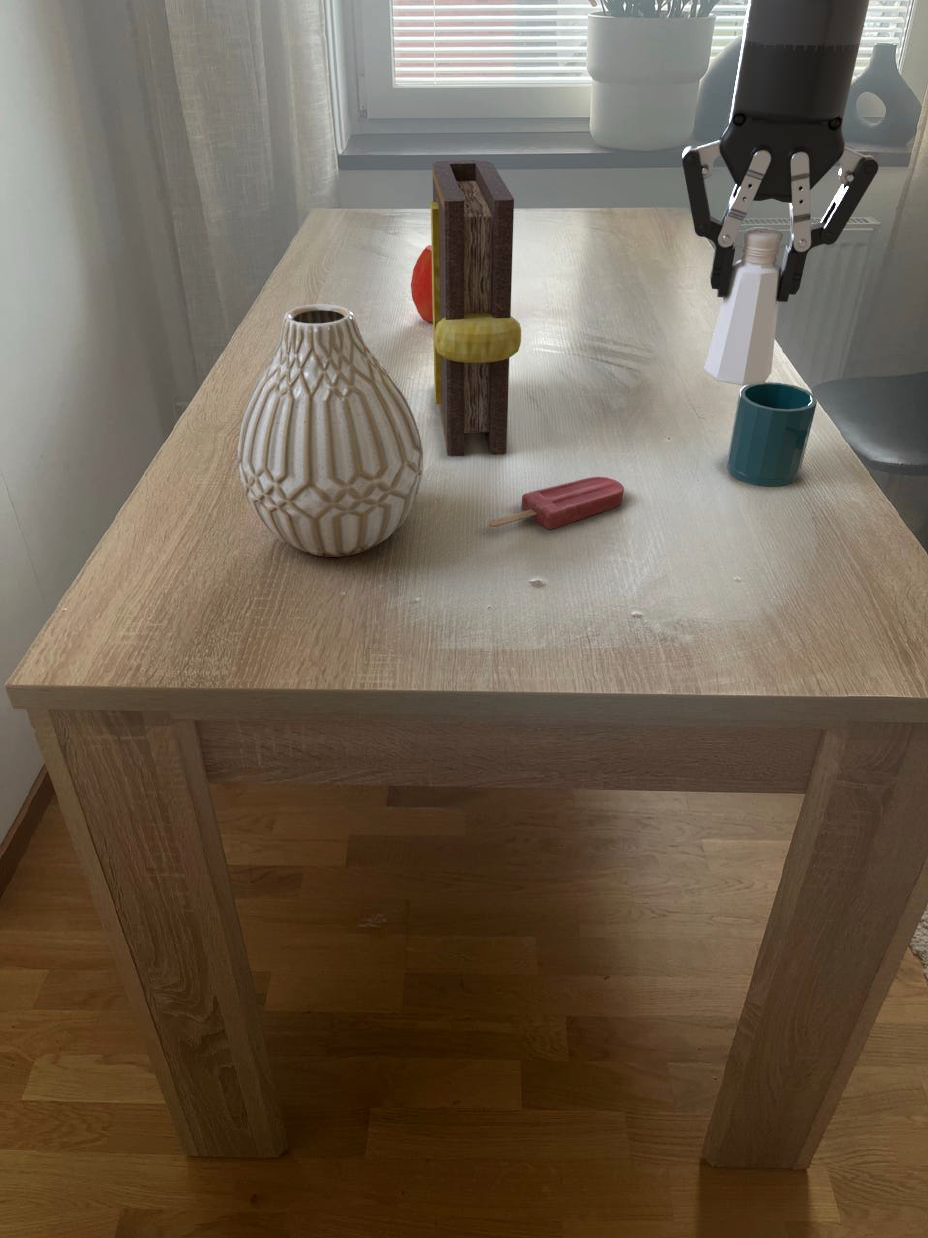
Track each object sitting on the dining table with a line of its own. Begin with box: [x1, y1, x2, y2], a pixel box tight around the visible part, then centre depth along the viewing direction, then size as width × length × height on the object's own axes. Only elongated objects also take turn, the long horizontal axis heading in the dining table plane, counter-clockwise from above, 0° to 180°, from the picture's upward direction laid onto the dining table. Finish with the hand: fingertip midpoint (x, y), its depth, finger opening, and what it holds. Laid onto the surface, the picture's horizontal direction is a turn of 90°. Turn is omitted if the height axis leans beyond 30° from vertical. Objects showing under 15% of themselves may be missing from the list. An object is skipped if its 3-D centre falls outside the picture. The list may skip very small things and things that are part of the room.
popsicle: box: [487, 476, 625, 530], centre depth 87 cm, size 4×2×15 cm
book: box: [430, 159, 522, 457], centre depth 97 cm, size 22×8×25 cm, turn 5°
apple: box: [410, 244, 433, 324], centre depth 130 cm, size 8×8×11 cm
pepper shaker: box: [703, 226, 784, 387], centre depth 72 cm, size 5×5×11 cm
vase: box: [236, 303, 424, 558], centre depth 78 cm, size 16×16×20 cm
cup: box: [726, 381, 818, 487], centre depth 92 cm, size 7×7×8 cm
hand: (752, 295), depth 71 cm, fingers closed on pepper shaker, 4 cm apart
